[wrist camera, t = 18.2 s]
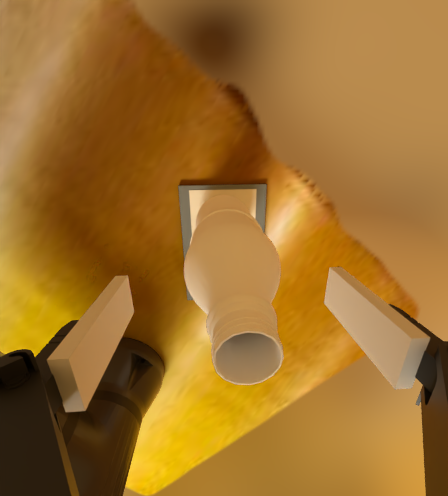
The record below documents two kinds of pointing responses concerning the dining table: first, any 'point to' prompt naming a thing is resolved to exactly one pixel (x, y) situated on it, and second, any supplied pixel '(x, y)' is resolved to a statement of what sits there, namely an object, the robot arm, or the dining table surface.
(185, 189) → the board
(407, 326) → the robot arm
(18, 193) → the dining table surface
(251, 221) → the water bottle
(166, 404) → the dining table surface
